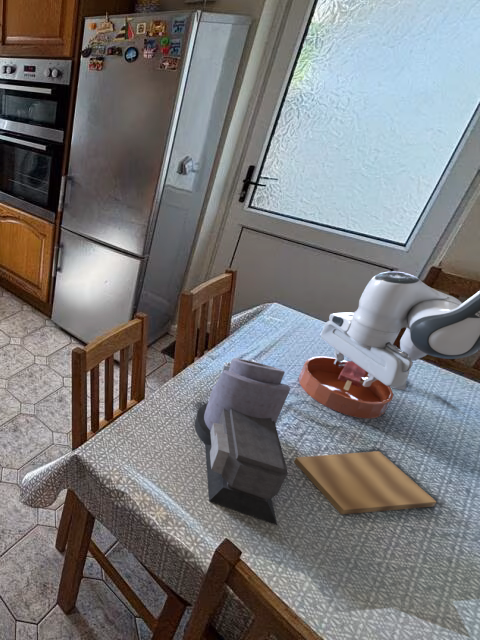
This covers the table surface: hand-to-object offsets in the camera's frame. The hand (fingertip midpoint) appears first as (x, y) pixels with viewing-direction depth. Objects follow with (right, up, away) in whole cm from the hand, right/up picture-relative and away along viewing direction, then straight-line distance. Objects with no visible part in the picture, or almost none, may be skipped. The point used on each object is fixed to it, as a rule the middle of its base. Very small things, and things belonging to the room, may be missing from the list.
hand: (350, 374), depth 109 cm
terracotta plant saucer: (0, -6, +3) cm, 6 cm away
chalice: (+17, -4, +6) cm, 19 cm away
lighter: (-26, -4, +8) cm, 27 cm away
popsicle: (+1, -2, +1) cm, 2 cm away
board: (-18, -17, -21) cm, 32 cm away
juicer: (-40, -14, -14) cm, 45 cm away
